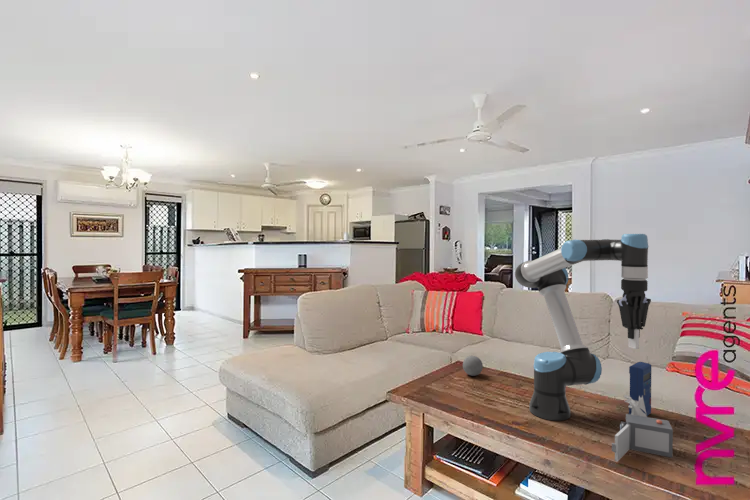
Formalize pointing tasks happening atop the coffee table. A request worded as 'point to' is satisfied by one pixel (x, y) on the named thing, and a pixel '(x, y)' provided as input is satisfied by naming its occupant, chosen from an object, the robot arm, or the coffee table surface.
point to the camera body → (650, 435)
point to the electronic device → (641, 384)
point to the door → (622, 442)
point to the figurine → (636, 406)
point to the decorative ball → (472, 365)
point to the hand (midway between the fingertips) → (633, 347)
